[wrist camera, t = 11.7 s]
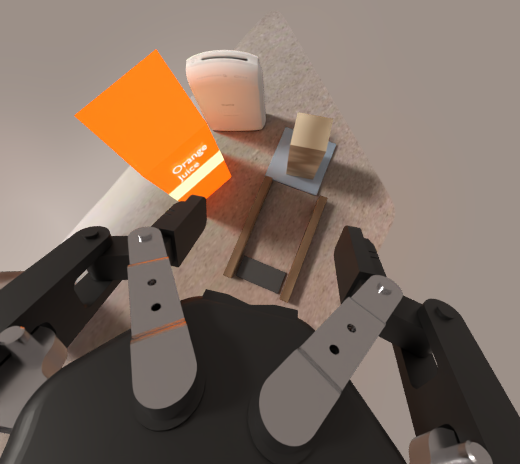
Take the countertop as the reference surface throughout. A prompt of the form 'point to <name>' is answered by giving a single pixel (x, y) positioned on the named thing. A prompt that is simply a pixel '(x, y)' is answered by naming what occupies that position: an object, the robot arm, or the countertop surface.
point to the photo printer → (228, 89)
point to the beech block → (308, 145)
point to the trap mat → (261, 274)
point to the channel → (301, 251)
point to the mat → (279, 174)
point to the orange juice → (158, 131)
